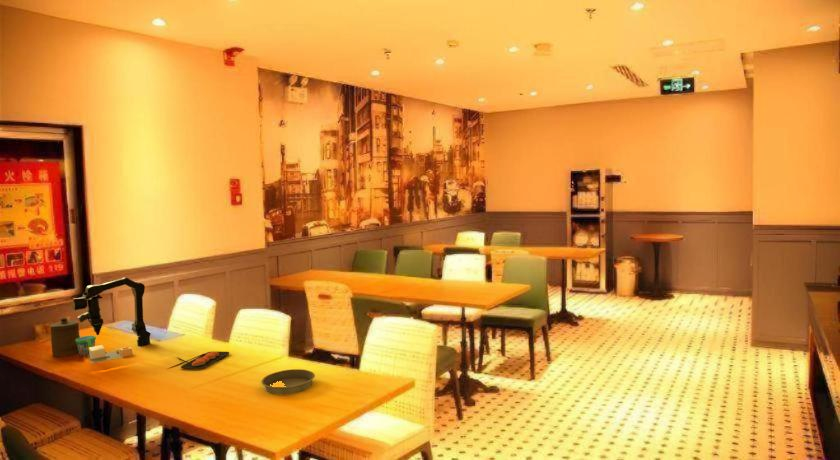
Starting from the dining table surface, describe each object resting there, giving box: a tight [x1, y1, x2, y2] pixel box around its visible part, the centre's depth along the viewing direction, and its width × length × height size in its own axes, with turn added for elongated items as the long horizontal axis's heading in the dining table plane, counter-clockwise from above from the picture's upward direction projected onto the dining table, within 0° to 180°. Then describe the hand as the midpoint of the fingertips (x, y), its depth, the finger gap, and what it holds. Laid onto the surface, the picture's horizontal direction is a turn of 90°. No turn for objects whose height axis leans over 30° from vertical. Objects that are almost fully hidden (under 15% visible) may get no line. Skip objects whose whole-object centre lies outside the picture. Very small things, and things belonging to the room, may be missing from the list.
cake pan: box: [260, 368, 316, 396], centre depth 274 cm, size 25×25×4 cm
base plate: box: [86, 348, 132, 364], centre depth 336 cm, size 21×18×3 cm
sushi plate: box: [167, 351, 230, 370], centre depth 321 cm, size 29×30×4 cm
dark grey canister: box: [49, 316, 81, 357], centre depth 350 cm, size 15×15×22 cm
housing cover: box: [88, 344, 106, 359], centre depth 335 cm, size 7×10×5 cm
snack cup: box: [75, 335, 97, 357], centre depth 344 cm, size 16×10×10 cm
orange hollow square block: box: [119, 346, 133, 358], centre depth 335 cm, size 5×5×4 cm
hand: (96, 333), depth 338 cm, fingers open, 9 cm apart
